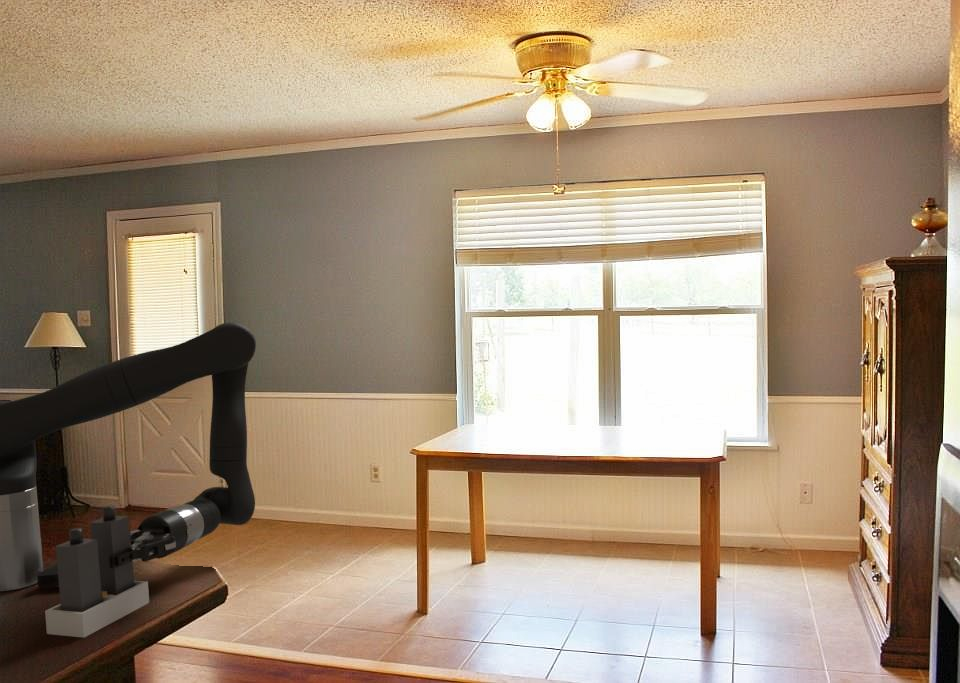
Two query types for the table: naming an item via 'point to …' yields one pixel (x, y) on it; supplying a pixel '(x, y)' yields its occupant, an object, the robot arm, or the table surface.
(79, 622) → the grey rectangular tray
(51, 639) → the table surface
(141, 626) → the table surface
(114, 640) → the table surface
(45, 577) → the black sponge
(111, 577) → the plug
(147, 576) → the table surface
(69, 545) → the twin plug
